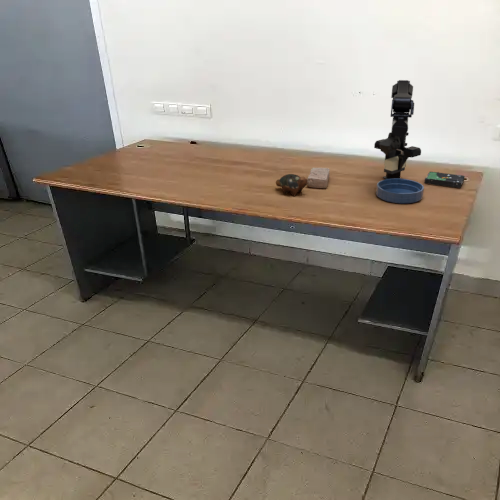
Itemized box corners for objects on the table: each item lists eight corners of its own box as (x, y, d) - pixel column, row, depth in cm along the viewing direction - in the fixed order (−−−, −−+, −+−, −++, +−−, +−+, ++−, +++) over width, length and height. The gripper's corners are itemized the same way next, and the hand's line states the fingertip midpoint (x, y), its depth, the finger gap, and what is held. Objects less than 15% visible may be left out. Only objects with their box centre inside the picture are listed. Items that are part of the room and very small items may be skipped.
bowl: (367, 191, 211) (368, 181, 209) (405, 186, 216) (406, 176, 214) (391, 207, 195) (393, 196, 193) (431, 200, 200) (433, 190, 198)
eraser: (391, 174, 199) (392, 162, 196) (383, 171, 201) (384, 159, 199) (404, 170, 203) (406, 158, 200) (396, 167, 206) (398, 155, 203)
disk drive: (463, 181, 220) (428, 176, 226) (464, 175, 219) (429, 170, 225) (460, 189, 212) (424, 183, 218) (461, 182, 210) (425, 177, 217)
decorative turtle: (303, 199, 205) (301, 180, 201) (271, 195, 213) (269, 177, 209) (313, 190, 212) (312, 172, 208) (282, 187, 220) (280, 169, 216)
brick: (311, 176, 230) (311, 166, 228) (329, 177, 229) (330, 166, 227) (306, 188, 216) (307, 178, 214) (326, 189, 214) (327, 179, 212)
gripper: (366, 129, 197) (363, 167, 204) (405, 138, 184) (400, 179, 191) (385, 124, 203) (381, 162, 210) (424, 133, 190) (419, 173, 197)
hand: (394, 169), depth 202 cm, fingers closed on eraser, 4 cm apart
